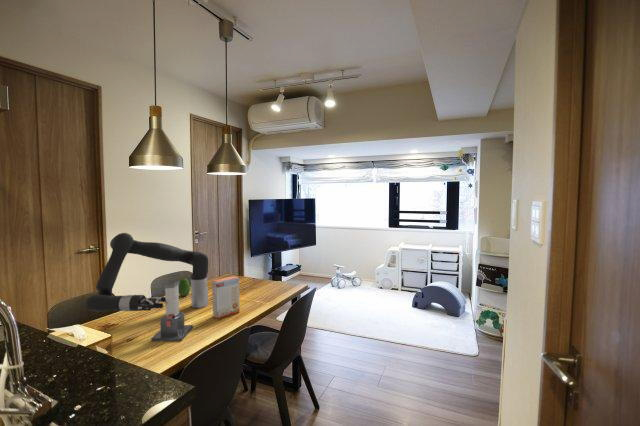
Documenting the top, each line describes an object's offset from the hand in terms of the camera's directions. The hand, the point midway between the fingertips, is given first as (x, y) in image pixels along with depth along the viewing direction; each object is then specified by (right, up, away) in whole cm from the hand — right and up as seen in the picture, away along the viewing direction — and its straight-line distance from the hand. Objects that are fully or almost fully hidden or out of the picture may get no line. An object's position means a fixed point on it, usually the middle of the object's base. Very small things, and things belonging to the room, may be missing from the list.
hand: (166, 302), depth 148 cm
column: (+3, -14, +1) cm, 15 cm away
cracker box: (+21, -15, +27) cm, 37 cm away
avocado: (-18, -13, +58) cm, 62 cm away
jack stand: (+3, -16, +1) cm, 16 cm away
